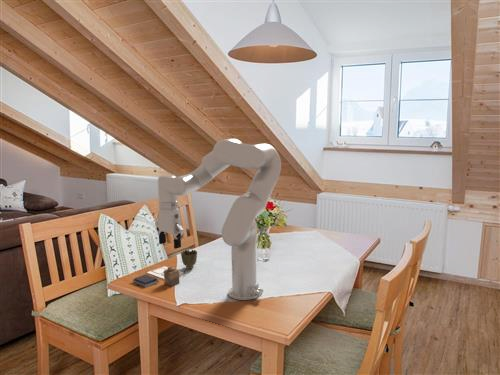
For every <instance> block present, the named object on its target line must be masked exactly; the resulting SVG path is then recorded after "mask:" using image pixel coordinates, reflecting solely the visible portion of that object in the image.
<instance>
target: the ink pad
mask: <svg viewBox="0 0 500 375" xmlns="http://www.w3.org/2000/svg"><path fill="white" fill-rule="evenodd" d="M132 283H133V284H136V285H138V286H140V287H143V288H148V287H151V286H153V285H155V284H158V283H160V279H158V277H156V276H153V275H150V274H148V273H147V274H142V275H139V276H137V277H134V278H133V279H132Z"/></svg>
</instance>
